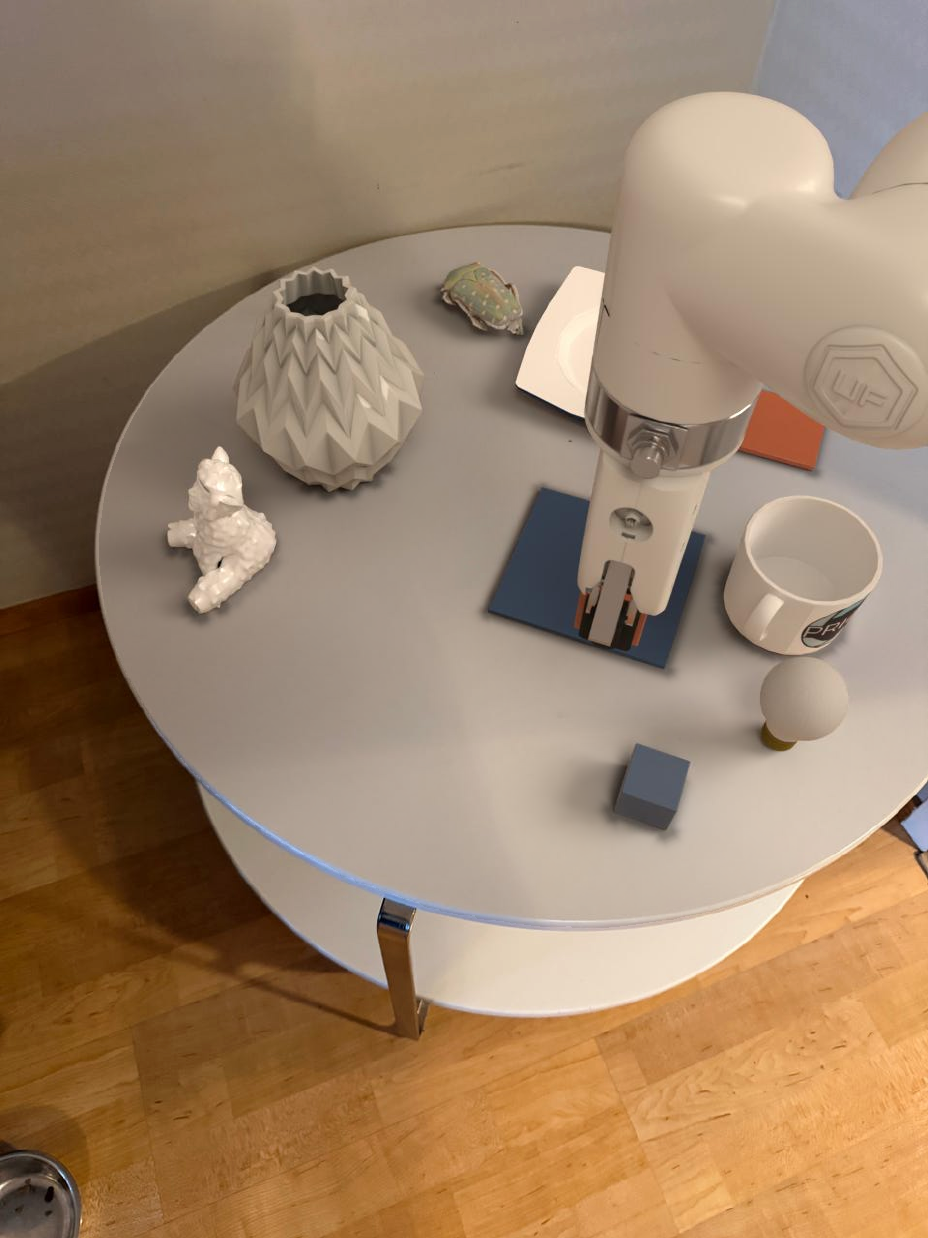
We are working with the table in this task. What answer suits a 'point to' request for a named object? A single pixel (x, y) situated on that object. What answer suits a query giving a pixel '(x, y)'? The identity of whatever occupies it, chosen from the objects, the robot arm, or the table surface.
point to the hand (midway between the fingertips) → (615, 608)
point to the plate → (564, 345)
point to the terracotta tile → (782, 433)
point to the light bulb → (801, 702)
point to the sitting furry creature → (222, 533)
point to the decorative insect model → (484, 297)
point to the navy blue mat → (549, 575)
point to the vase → (327, 383)
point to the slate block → (652, 786)
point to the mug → (800, 574)
